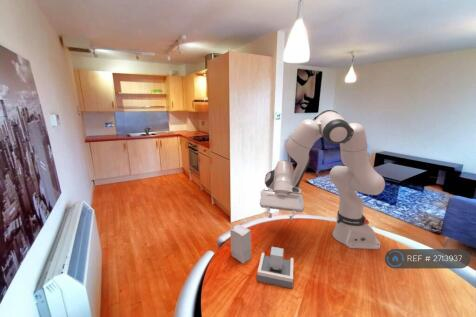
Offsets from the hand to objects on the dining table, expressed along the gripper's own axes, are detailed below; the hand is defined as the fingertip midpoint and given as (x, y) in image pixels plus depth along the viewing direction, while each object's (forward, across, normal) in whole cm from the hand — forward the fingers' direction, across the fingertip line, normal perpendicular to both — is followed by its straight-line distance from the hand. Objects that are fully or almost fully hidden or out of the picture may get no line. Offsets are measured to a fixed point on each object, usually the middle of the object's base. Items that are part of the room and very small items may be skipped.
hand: (280, 218), depth 96 cm
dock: (+22, 0, +7) cm, 23 cm away
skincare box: (+18, -17, +11) cm, 27 cm away
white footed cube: (+20, 0, +5) cm, 20 cm away
